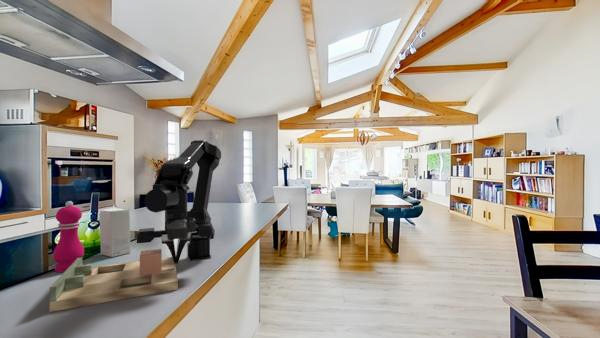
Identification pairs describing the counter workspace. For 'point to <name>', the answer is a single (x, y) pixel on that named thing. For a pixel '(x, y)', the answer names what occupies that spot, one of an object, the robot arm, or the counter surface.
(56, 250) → the pepper mill
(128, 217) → the skincare box
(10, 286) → the counter surface
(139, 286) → the board
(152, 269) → the block
